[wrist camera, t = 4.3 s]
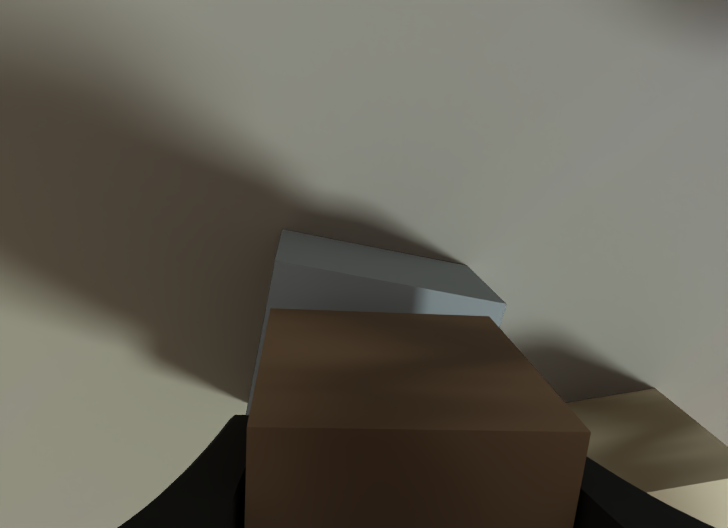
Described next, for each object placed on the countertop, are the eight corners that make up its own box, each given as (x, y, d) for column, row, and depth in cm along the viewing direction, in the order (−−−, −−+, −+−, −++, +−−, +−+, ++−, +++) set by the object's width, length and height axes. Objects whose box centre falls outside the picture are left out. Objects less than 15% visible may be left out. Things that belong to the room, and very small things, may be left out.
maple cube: (653, 387, 20) (760, 472, 16) (652, 506, 22) (750, 619, 17) (516, 409, 20) (581, 504, 15) (523, 528, 21) (585, 650, 17)
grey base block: (465, 264, 19) (506, 303, 15) (421, 427, 20) (448, 502, 16) (282, 227, 18) (275, 260, 14) (249, 401, 19) (234, 473, 15)
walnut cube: (489, 316, 13) (591, 431, 8) (464, 503, 15) (541, 696, 10) (270, 308, 13) (246, 426, 8) (264, 503, 14) (240, 706, 9)
